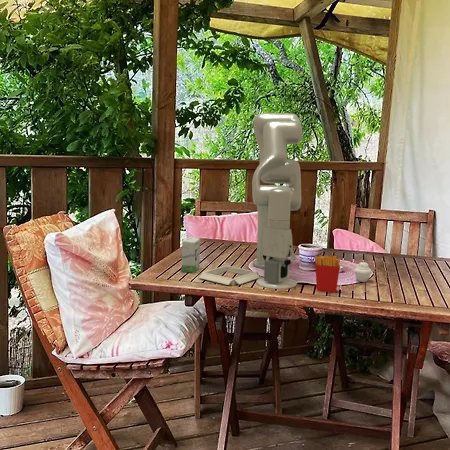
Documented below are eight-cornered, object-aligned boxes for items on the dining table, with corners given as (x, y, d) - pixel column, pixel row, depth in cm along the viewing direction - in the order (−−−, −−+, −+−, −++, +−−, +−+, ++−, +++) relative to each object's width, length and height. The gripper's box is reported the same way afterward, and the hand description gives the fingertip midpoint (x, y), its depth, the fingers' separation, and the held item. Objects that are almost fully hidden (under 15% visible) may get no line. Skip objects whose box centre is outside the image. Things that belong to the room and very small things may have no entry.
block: (276, 276, 190) (277, 257, 189) (288, 278, 187) (289, 259, 186) (263, 280, 184) (264, 261, 183) (276, 283, 181) (276, 263, 180)
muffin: (359, 283, 187) (360, 264, 186) (350, 279, 193) (351, 260, 192) (374, 282, 189) (375, 263, 188) (365, 278, 195) (366, 259, 194)
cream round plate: (271, 276, 195) (271, 274, 195) (304, 283, 187) (304, 281, 187) (248, 283, 185) (248, 282, 184) (282, 291, 176) (282, 289, 176)
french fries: (339, 290, 179) (341, 255, 177) (338, 293, 175) (339, 257, 173) (313, 287, 181) (315, 253, 179) (312, 290, 178) (313, 255, 176)
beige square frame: (225, 268, 205) (225, 263, 205) (265, 277, 194) (265, 271, 193) (193, 277, 191) (193, 272, 191) (234, 287, 179) (234, 281, 179)
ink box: (187, 266, 207) (187, 236, 205) (200, 267, 206) (200, 237, 204) (181, 272, 199) (181, 241, 197) (194, 273, 198) (194, 241, 196)
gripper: (252, 222, 185) (250, 273, 188) (294, 228, 174) (291, 282, 177) (264, 220, 190) (262, 269, 194) (305, 226, 180) (303, 278, 183)
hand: (276, 275), depth 185 cm, fingers closed on block, 5 cm apart
